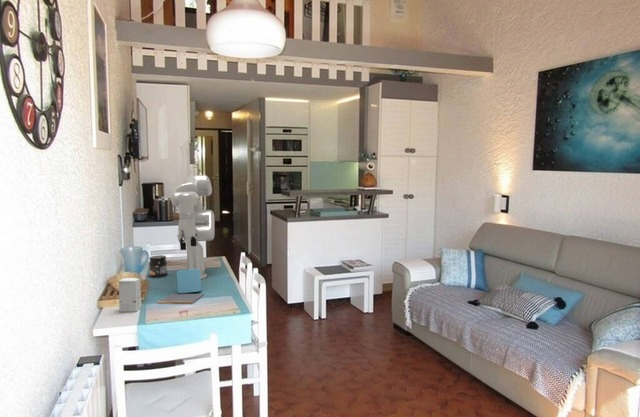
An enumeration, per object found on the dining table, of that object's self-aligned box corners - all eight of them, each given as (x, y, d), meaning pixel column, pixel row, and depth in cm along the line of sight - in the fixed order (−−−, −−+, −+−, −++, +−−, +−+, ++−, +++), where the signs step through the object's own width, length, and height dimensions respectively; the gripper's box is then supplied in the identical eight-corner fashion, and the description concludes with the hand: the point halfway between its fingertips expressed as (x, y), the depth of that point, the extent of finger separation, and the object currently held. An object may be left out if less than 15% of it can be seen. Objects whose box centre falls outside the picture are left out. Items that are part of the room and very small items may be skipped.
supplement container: (147, 276, 279) (146, 257, 278) (163, 273, 286) (162, 254, 285) (153, 278, 271) (152, 259, 270) (170, 275, 278) (169, 256, 277)
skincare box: (119, 312, 209) (117, 280, 207) (125, 308, 215) (122, 277, 213) (137, 311, 209) (135, 280, 207) (142, 307, 215) (140, 277, 213)
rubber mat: (171, 294, 235) (171, 293, 235) (204, 295, 233) (203, 294, 233) (158, 302, 222) (158, 301, 222) (193, 303, 219) (193, 302, 219)
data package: (201, 291, 241) (199, 268, 243) (201, 291, 237) (200, 268, 238) (177, 293, 237) (176, 270, 239) (177, 293, 233) (176, 270, 235)
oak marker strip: (158, 302, 222) (158, 301, 221) (193, 303, 219) (193, 301, 219) (157, 303, 220) (156, 301, 220) (192, 304, 218) (192, 302, 218)
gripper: (189, 214, 248) (191, 244, 250) (170, 218, 232) (172, 251, 234) (201, 214, 246) (203, 245, 248) (183, 218, 229) (185, 251, 231)
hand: (188, 248), depth 241 cm, fingers open, 9 cm apart
